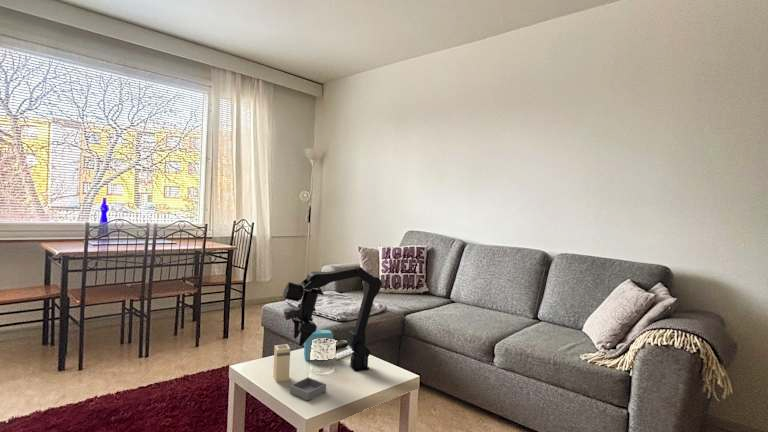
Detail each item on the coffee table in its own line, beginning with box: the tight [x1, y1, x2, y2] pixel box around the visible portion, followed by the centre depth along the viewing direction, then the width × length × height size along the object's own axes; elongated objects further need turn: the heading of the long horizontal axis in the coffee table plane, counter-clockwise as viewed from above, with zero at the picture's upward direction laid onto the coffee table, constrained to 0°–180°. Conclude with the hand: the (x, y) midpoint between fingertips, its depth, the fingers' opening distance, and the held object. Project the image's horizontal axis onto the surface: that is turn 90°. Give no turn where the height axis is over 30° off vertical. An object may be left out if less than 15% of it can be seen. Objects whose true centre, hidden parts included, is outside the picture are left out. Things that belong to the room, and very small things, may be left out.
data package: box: [303, 329, 334, 362], centre depth 189 cm, size 12×4×12 cm, turn 105°
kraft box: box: [272, 343, 291, 383], centre depth 166 cm, size 5×5×13 cm
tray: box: [289, 377, 327, 402], centre depth 156 cm, size 9×9×3 cm
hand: (297, 341), depth 169 cm, fingers open, 9 cm apart
